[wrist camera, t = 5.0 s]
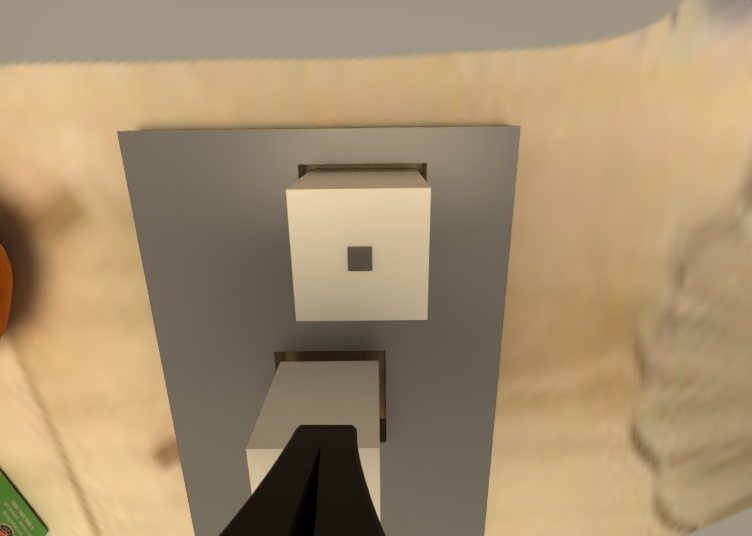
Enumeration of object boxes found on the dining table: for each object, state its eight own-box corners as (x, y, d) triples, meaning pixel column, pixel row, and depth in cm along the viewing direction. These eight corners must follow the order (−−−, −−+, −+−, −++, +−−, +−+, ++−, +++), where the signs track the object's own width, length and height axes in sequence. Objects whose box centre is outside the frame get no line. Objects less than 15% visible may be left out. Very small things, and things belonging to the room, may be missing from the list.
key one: (415, 168, 17) (431, 188, 12) (413, 267, 18) (427, 322, 13) (311, 169, 17) (284, 190, 12) (316, 268, 18) (295, 323, 13)
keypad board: (508, 125, 17) (520, 126, 15) (473, 554, 24) (479, 581, 22) (139, 130, 17) (117, 131, 15) (214, 556, 24) (204, 584, 22)
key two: (378, 360, 18) (379, 451, 13) (379, 441, 19) (380, 551, 14) (280, 361, 18) (244, 452, 13) (287, 442, 19) (257, 552, 14)
